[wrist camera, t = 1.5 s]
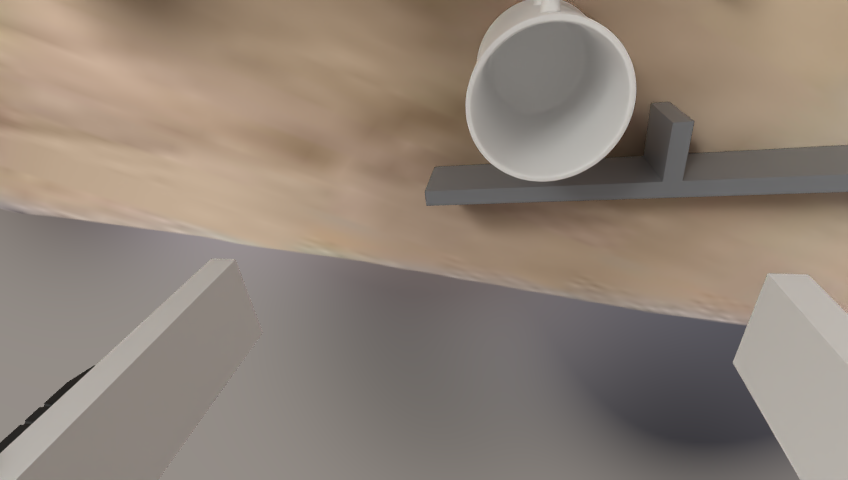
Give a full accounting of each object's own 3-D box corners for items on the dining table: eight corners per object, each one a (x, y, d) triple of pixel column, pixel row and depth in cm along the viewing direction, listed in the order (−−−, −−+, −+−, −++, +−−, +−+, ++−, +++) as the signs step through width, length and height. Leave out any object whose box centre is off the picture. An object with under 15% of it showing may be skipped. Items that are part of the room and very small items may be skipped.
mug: (485, -63, 27) (470, -86, 17) (624, -63, 26) (694, -89, 16) (472, 120, 34) (456, 180, 24) (584, 126, 32) (617, 193, 22)
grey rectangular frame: (401, -122, 27) (380, -141, 22) (1119, -268, 19) (1286, -336, 15) (436, 179, 37) (426, 205, 33) (915, 157, 30) (981, 187, 25)
